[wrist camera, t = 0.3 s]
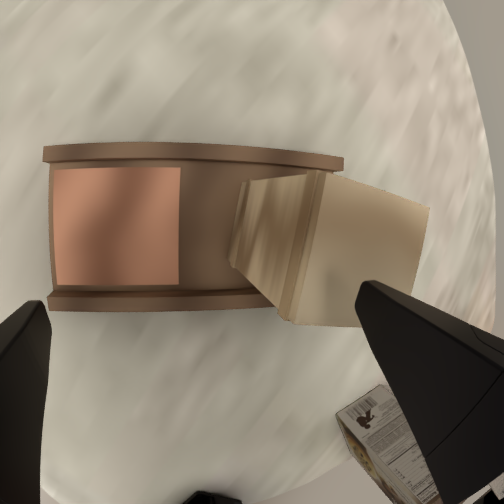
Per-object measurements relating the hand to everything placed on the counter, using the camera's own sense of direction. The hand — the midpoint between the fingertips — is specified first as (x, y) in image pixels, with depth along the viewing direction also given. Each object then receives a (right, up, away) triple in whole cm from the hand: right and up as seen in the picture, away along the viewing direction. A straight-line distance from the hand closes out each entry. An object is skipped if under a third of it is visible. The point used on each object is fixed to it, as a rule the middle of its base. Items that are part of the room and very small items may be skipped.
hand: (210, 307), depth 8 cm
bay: (-3, +3, +14) cm, 15 cm away
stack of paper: (+2, +3, +15) cm, 16 cm away
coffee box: (+14, -18, +24) cm, 33 cm away
